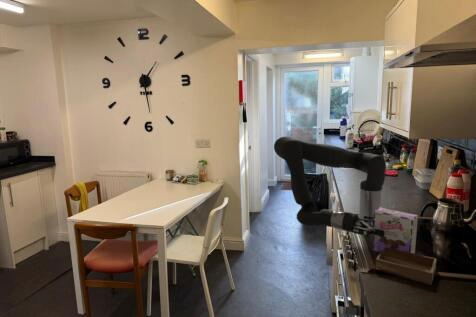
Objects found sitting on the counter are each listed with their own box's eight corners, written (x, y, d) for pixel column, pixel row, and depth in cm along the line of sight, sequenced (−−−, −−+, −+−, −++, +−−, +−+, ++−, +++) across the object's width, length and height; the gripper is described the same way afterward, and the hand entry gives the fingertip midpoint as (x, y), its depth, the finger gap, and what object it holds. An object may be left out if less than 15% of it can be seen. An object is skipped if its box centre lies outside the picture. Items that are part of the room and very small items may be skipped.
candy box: (371, 250, 126) (373, 210, 123) (377, 245, 130) (379, 206, 127) (409, 262, 116) (412, 219, 113) (415, 256, 120) (418, 214, 117)
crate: (383, 256, 121) (383, 246, 120) (435, 269, 111) (436, 258, 110) (375, 269, 112) (375, 259, 111) (431, 285, 102) (432, 273, 101)
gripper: (338, 218, 126) (382, 226, 116) (350, 207, 137) (391, 214, 127) (338, 236, 127) (381, 246, 118) (349, 224, 139) (390, 232, 129)
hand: (387, 229), depth 123 cm, fingers open, 8 cm apart
